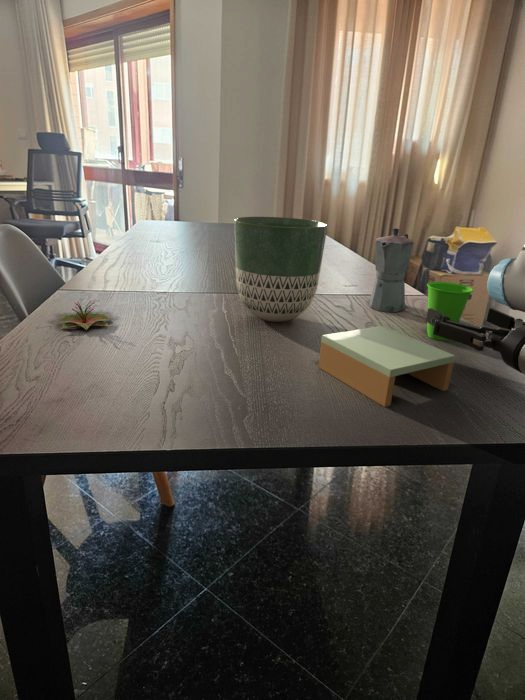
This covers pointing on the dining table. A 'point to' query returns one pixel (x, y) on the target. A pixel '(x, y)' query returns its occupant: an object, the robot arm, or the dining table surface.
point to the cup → (447, 301)
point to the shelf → (382, 361)
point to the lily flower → (83, 318)
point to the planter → (278, 264)
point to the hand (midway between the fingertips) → (459, 314)
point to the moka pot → (391, 272)
